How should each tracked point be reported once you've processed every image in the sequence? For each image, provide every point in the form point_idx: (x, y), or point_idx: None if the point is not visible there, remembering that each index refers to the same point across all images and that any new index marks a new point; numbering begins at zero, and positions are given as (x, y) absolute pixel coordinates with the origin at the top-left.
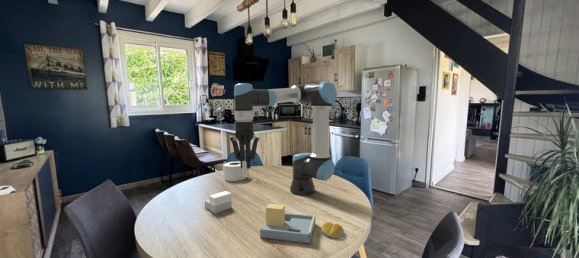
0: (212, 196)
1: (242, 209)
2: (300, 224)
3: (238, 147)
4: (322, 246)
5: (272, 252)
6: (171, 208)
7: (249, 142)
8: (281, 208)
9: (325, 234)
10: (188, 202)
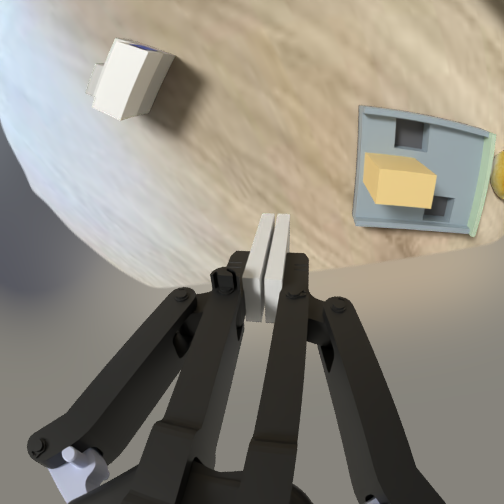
0: (105, 108)
1: (219, 54)
2: (455, 169)
3: (134, 375)
4: (481, 227)
5: (389, 260)
6: (44, 136)
7: (281, 471)
8: (428, 204)
9: (496, 193)
10: (49, 90)
